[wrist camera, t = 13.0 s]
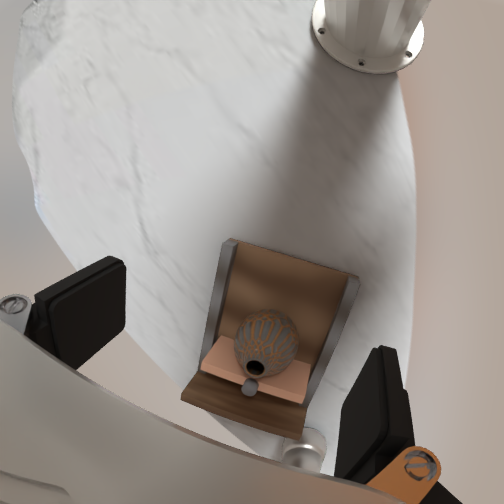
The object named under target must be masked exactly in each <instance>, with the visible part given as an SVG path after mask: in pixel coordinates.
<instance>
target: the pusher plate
mask: <svg viewBox="0 0 504 504" xmlns="http://www.w3.org/2000/svg"><path fill="white" fill-rule="evenodd" d="M310 367H311V364H307V363H304V362H301V361H297V360H294V359H293V361H292V362H291V363H290V365H289V366H288V367H287V368H285V369H284V370H283V371H281V372H280V373H278V374H275V375H271V376H263V377H261V378H253V377H251V376H249V375H247V374H246V373H245V371H244V369H243V367H242V366H241V365H240V363H239V362H238V360H237V358H236V356H235V352H234V340H233V339H230V338H228V337H225V336H222V335H221V336H220V337H219V339H218V340H217V341H216V343H215V344H214V346H213V347H212V348H211V350H210V351H209V352H208V354H207V355H206V357H205V358H204V359H203V361H202V364H201V370H203V371H206V372H208V373H211V374H213V375H216V376H219V377H221V378H224V379H227V380H230V381H232V382H235V383H238V384H241V385H243V386H242V388H241V390H242V392H243V394H245V395H247V396H254V395H255V394H256V392H257V390H258V391H261V392H264V393H268V394H271V395H274V396H277V397H280V398H284V399H287V400H290V401H294V402H297V403H301V404H302V402H303V400H304V398H305V395H306V390H307V384H308V379H309V373H310Z"/></svg>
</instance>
